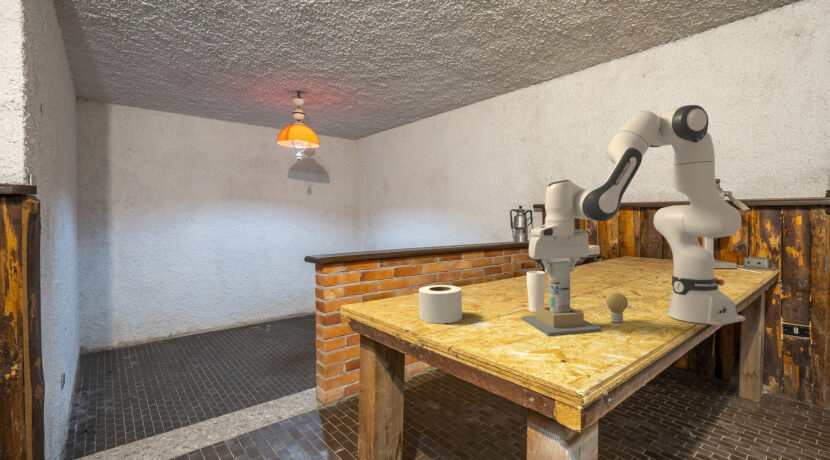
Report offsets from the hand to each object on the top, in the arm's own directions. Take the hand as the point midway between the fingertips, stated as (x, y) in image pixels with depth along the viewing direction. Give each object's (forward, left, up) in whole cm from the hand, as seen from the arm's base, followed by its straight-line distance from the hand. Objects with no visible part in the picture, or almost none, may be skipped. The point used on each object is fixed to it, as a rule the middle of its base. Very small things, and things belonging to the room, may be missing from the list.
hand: (559, 271), depth 121 cm
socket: (0, 0, -18) cm, 18 cm away
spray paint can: (0, 0, -17) cm, 17 cm away
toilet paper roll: (+36, -18, -18) cm, 44 cm away
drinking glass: (-1, -17, -18) cm, 25 cm away
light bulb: (-20, +2, -18) cm, 27 cm away
